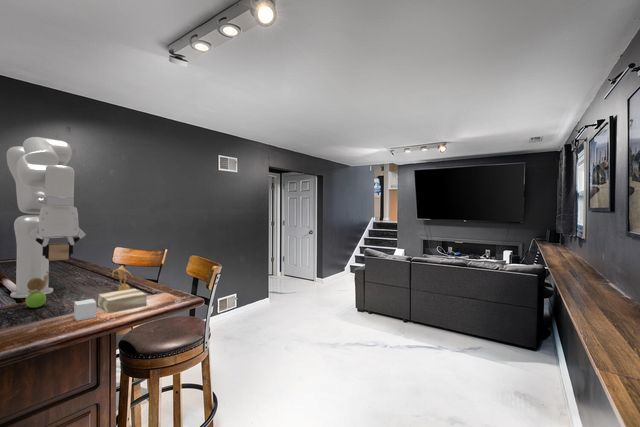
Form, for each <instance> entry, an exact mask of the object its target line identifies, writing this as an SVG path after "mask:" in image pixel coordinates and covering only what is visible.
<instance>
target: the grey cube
mask: <svg viewBox="0 0 640 427" xmlns="http://www.w3.org/2000/svg"><path fill="white" fill-rule="evenodd" d="M73 303H74V304H73V305H74V306H73V317H74V319H75V320H76V322H77V321H83V320H88V319H93V318H97V301H96V300H95V299H94V298H90V299H84V300H83V299H82V300H78V301H77V300H76V301H74V302H73Z"/></svg>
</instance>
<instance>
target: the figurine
mask: <svg viewBox="0 0 640 427" xmlns="http://www.w3.org/2000/svg"><path fill="white" fill-rule="evenodd" d="M115 272H117V273H118V275H117V276H118V278H119V284H120V286H119V287H118V290H117V291H121V290H127V289H131V286H130V285H129V284H127V283H126V281H127V280H128V277H127V276H126V274H124V273H128V275H129V276H131V277H132V278H133V275H132V274H131V273H130V271H128V270H126V269H125V268H124V265H121V266H120V267H118V268H116V269H115V270H112V273H111V277H112V278H114V276H115V275H114V274H115ZM122 281H123V283H122Z"/></svg>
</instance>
